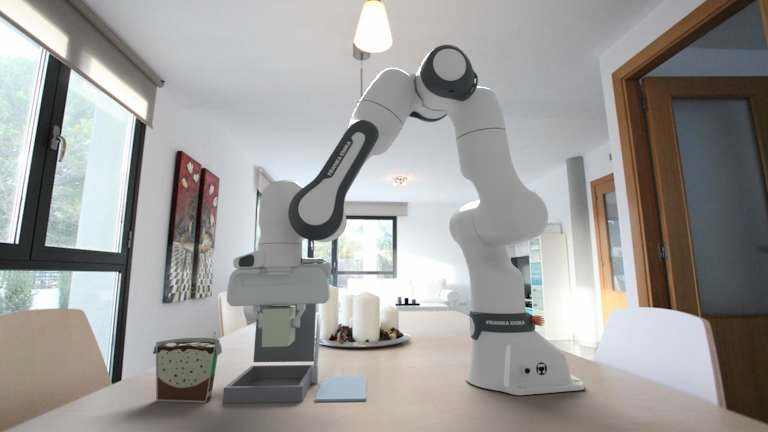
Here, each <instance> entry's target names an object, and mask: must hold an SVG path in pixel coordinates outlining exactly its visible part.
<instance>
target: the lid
mask: <svg viewBox="0 0 768 432" xmlns="http://www.w3.org/2000/svg"><path fill="white" fill-rule="evenodd" d="M270 306H273V305H263V309H265V308H267V307H270ZM291 306H295V318H296V316H297V315H298V313H299V311H300V310H297V304H291ZM316 311H317V304H306V309H305V311H304V313H303V314H302V316H301V318H300V327H299V328H295V340H294V341H293V342H292V343H291V344H290V345H289V346H279V347H262V329H259V320H258V319H257V318H256V322H255V334H254V335H255V336H254V349H253V363H291V362H292V363H294V362H295V363H297V362H298V363H299V362H300V363H302V362H303V363H304V362H305V363H307V362H309V363H311V362H313V363H314V356H315V344H316V317H317V316H316V313H317V312H316ZM260 312H261V313H262V314H263V310H261V311H260Z"/></svg>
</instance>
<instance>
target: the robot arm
mask: <svg viewBox="0 0 768 432" xmlns="http://www.w3.org/2000/svg"><path fill="white" fill-rule="evenodd" d="M478 77H479V76H478V75H477V72H475V70H474V68H473V65H472V63H471V61H470V58H469V57H468V55H467V54H466V53H465V52H464V51H463V50H462V49H461V48H459V47H458V46H455V45H452V44H442V45H438V46H437V47H435V48H433V49H432V50H431V51H429V52H428V54H427V55H426V56H425V57H424V58H423V60H422V62H421V65H420V67H419V69H418V71H417V72H416V73H407V72H405V71H404V70H402V69H399V68H397V67H394V68H393V67H389V68H386V69H384V70H382V71H381V72H380V73H379V74H378V75H376V77H375V78H374V80H373V81H372V82H371V83H370V85H369V86H368V88H367V89H366V90H365V92H364V93H363V95H362V97H361V98H360V99H359V101H358V103H357V105H356V106H355V108H354V111H353V112H352V115H351V116H350V119H349V121H348V124H347V126H346V128H345V131H344V133H343V134H342V137H341V138H340V140H339V141H338V144H337V145H336V146H335V148H334V149H333V151H332V152H331V154H330V156H329V157H328V159H327V160H326V161H325V164H324V165H323V167H322V168H321V169H320V171H319V173H318V174H317V175H316V177H315V178H314V179H312V181H310V182H309V183H308V184H306V185H305V186H302V185H301V184H300V183H299V182H297V181H296V180H290V179H289V180H287V179H285V180H277V181H274V182H271V183H269V184H267V185H266V186H264V188H263V190H262V192H261V197H260V201H259V209H258V210H259V211H258V225H259V231H260V232H259V233H260V236H259V239H258V243H257V246H258V247H257V250H255V251H252V252H249V253H246V254H243V255H239V256H237V257H235V258H233V262H232V264H233V266H232V267H234V268H235V269H234V270H233V271H232V272H231V274H230V275H229V278H228V285H227V293H226V301H227V304H228V305H229V306H230V307H252V313H253V314H254V316H255V317H256V319H258V320H259V329H262V313H261V312H260V311H261V310H263V305H291V304H297V310H300V311H299V313H298V315H297V316H296V318H292V319H291V323H292V324H291V328H299V327H300V318H301V316H302V314H303V313H304V311H305V309H306V304H316V305H317V304H321V305H322V304H326V303H328V302H329V300H330V298H331V290H330V282H329V279H330V278H331V275H332V265H331V263H330V262H329V261H328V260H326V259H324V258H323V257H317V258H310V257H304V258H303V241H304V240H309V241H315V242H319V243H329V242H332V241H334V240H336V239H338V238H340V237H341V236H342V234H343V233H344V231H345V230H346V227H347V215H346V212H345V200H346V197H347V195H348V192H349V191H350V189H351V187H352V185H353V184H354V182H355V180H356V178H357V177H358V175H359V174H360V171H361V170H362V169H363V167H364V165H365V163H367V161H368V160H369V159H370V158H371V157H373V156H379V155H382V154H384V153H386V152H387V151H388V150H389V149H390V147H391V146H392V145H393V143H394V142H395V141H396V139H397V138H398V137H399V136H400V135H399V134H400V133H401V131H402V129H403V127H404V126H405V123H406V122H407V119H408V118H409V117H410V118H413V119H414V118H415V119H418V120H419V121H422V122H426V123H436V122H438V121H441V120H443V119H444V118H445V117H446V116H448V117H449V119H450V120H451V123H452V124H453V127H454V133H455V134H454V135H455V141H456V147H457V155H458V161H459V163H458V164H459V169H460V172H461V175H462V176H463V178H465V179H466V180H468V181H470V182H471V183H472V184H473V186H474V187H475V190H476V192H477V194H478V198H479V199H478V200H475V201H471V202H468V203H466V204H465V205H463V206H461V207H460V208H458V209H457V210H455V212H453V214H452V215H451V217H450V219H449V226H448V227H449V232H450V235H451V237H452V239H453V240H454V242H456V243H457V244H458V246H459V247H460V249H461V251H462V253H463V257H464V259H465V262H466V267H467V269H468V274H469V283H470V284H469V287H470V303H471V310H470V311H469V321H468V322H469V323H468V325H469V335H470V339H471V343H470V344H471V346H470V357H469V364H468V368H467V374H466V376H465V377H466V378H465V379H466V381H467V383H469V384H471V385H473V386H476V387H479V388H483V389H488V390H493V391H497V392H498V391H499V392H504V393H506V394H510V395H512V396H513V395H514V396H526V395H535V394H536V395H537V394H538V395H539V394H550V393H551V394H552V393H563V392H573V391H582V390H584V389H585V387H584V382H583V381H582V380H581V379H580V378H578V377H576V376H575V375H573V374H571V371H570V367H569V366H570V365H569V363H568V360H567V358H566V355H565V353H564V352H563V351H562V350H561V349H560V348H558V347H557V346H556V345H555V344H553V343H552V342H551V341H549V340H548V339H547V338H545V336H543V335H541V334H540V333H539V332H538V331H536V326H538V327H541V326H542V327H543V326H544V324H545V318H544V317H543V316H542V315H538V314H534V315H533V314H531V313H529V312H527V311H526V310H527V309H526V295H525V291H526V290H525V279H524V275H523V273H522V272H521V270H520V269H519V268H517V267H516V266H515V265H514V264H513V263H512V261H511V259H510V257H509V254H508V252H507V248H506V247H507V246H511V245H519V244H523V243H527V242H528V241H531V240H533V239H535V238H538V237H540V236H541V235H542V234H543V233H544V232H545V230H546V228H547V225H548V222H549V212H548V207H547V205H546V203H545V201H544V200H543V198H541V196H540V195H538V194H537V193H536V192H534V191H532V190H531V189H529V188H528V187H527V186H526V185H525V184H524V182H523V181H522V180H521V178H520V177H519V175H518V173H517V172H516V169H515V167H514V164H513V161H512V155H511V151H510V146H509V141H508V135H507V128H506V124H505V120H504V115H503V112H502V111H503V110H502V108H501V106H500V103H499V100H498V96H497V95H496V94H495V92H494V91H493V90H492V89H491V88H488V87H484V86H478V82H479V78H478Z"/></svg>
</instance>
